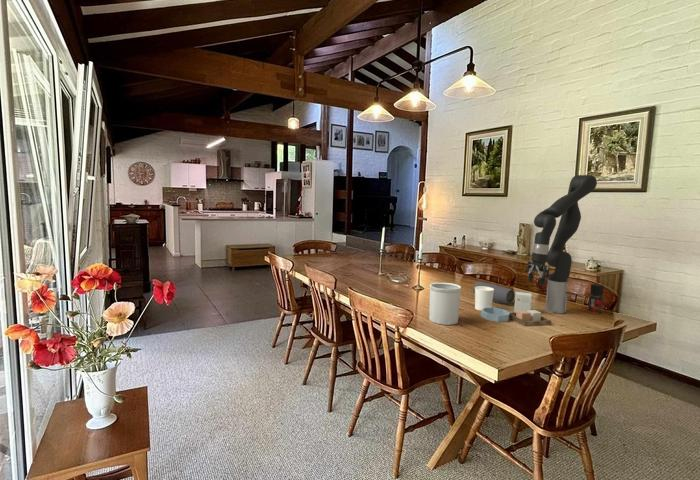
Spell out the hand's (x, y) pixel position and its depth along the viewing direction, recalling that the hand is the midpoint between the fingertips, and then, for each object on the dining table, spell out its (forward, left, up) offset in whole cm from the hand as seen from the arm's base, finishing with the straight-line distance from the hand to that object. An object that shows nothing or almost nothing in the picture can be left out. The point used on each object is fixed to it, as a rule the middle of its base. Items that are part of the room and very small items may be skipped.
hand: (535, 283), depth 198 cm
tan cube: (+14, +11, -16) cm, 24 cm away
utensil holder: (+53, +4, -17) cm, 56 cm away
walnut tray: (+11, +11, -17) cm, 23 cm away
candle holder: (+23, -10, -17) cm, 31 cm away
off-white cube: (+8, +11, -16) cm, 21 cm away
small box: (+4, -3, -17) cm, 18 cm away
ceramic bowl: (+25, +5, -17) cm, 31 cm away
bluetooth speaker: (+7, -26, -17) cm, 32 cm away
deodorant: (-39, 0, -17) cm, 42 cm away
